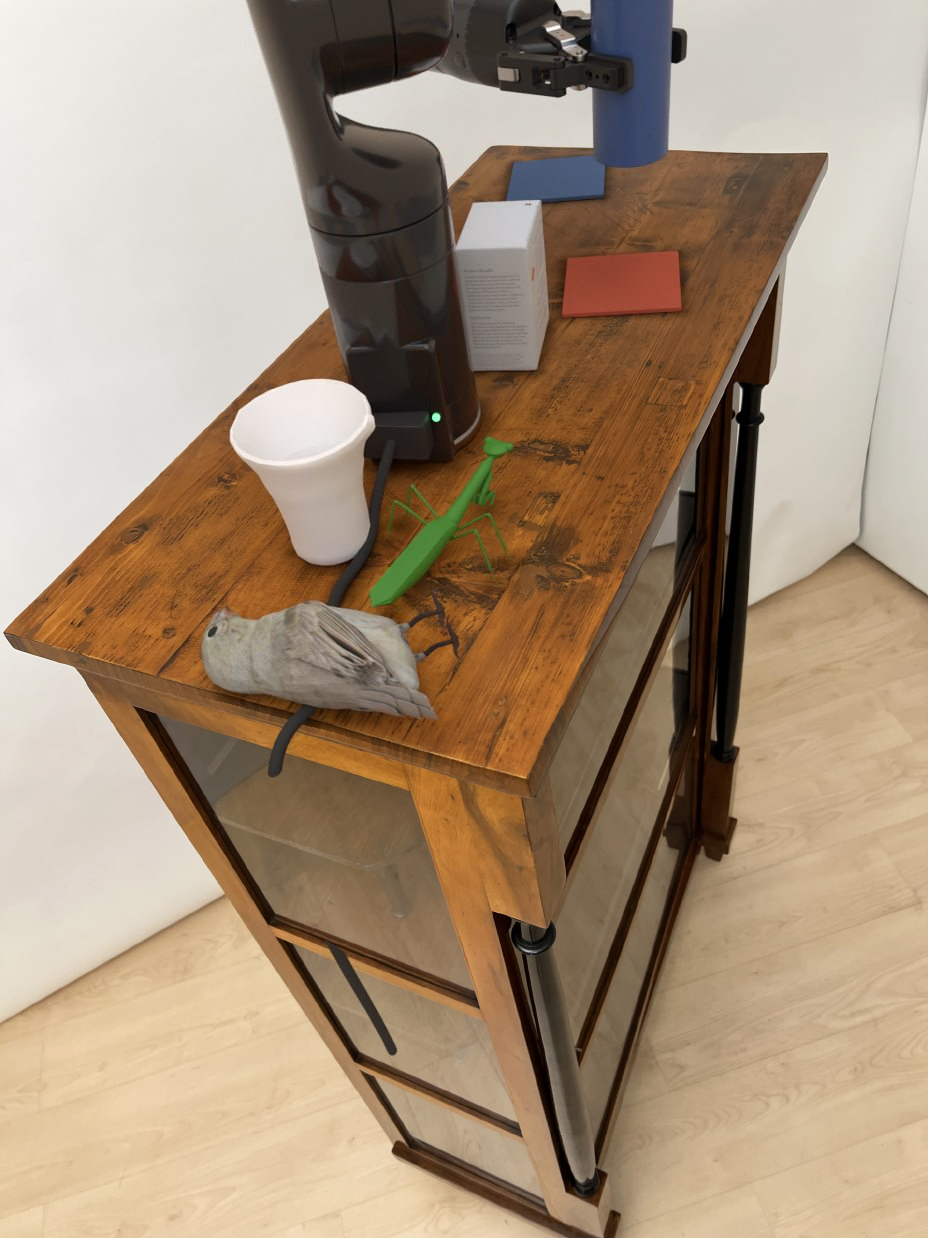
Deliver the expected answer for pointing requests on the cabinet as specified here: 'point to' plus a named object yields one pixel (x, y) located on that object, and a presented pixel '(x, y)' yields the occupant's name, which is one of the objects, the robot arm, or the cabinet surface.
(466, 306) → the small box
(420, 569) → the praying mantis
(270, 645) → the decorative bird
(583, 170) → the blue mat
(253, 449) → the cup
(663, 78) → the blue can
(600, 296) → the terracotta mat
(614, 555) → the cabinet surface
